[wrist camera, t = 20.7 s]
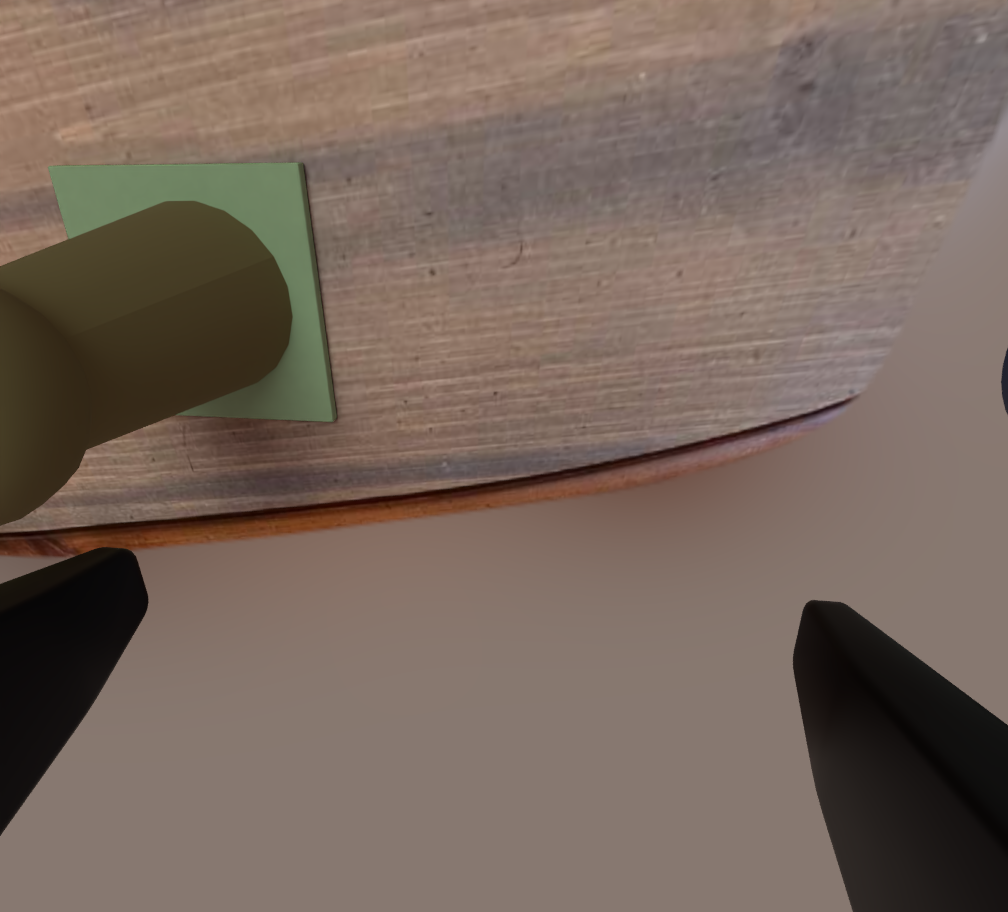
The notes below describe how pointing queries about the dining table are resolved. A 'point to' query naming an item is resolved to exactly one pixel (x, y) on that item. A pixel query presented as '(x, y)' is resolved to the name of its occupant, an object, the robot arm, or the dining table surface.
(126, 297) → the olive pawn
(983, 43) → the dining table surface
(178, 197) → the coaster
